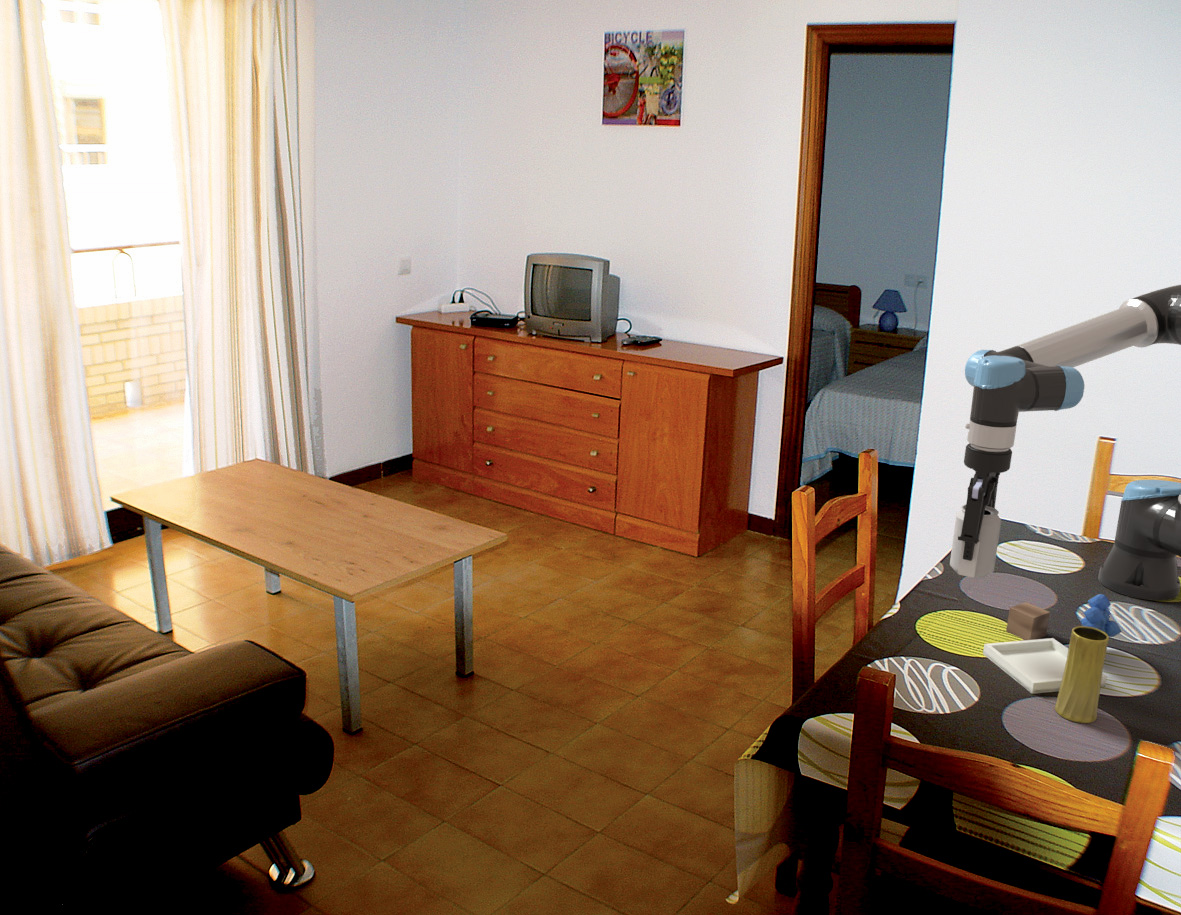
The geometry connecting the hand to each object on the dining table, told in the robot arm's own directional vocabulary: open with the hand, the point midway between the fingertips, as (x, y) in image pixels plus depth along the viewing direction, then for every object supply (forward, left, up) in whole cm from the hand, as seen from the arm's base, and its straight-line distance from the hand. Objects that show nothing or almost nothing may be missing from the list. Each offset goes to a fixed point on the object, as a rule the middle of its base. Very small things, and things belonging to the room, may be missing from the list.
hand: (971, 567), depth 175 cm
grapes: (-22, +9, -15) cm, 28 cm away
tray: (-9, +12, -15) cm, 21 cm away
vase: (-5, +25, -15) cm, 30 cm away
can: (0, 0, -1) cm, 1 cm away
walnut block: (-15, -1, -15) cm, 21 cm away
